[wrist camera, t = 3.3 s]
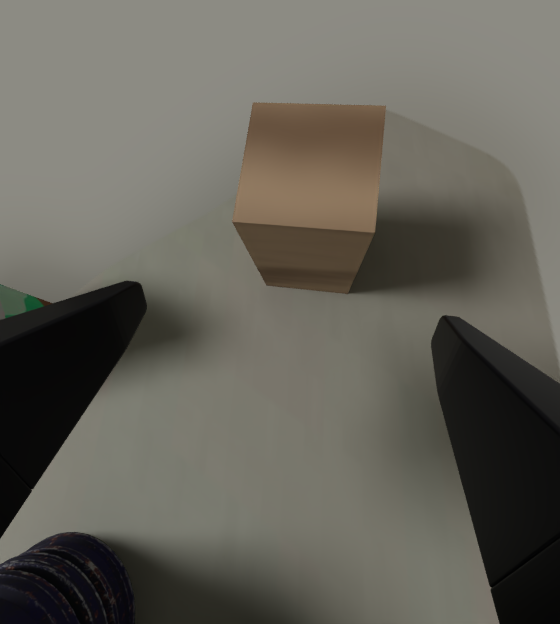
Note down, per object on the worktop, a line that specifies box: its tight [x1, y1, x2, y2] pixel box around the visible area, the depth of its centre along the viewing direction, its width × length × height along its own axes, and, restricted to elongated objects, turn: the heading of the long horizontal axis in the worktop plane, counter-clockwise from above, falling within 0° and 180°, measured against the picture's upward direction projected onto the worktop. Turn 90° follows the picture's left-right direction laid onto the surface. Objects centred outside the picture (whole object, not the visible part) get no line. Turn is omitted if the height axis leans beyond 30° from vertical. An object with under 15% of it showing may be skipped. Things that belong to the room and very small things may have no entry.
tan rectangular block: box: [232, 103, 386, 294], centre depth 18 cm, size 6×6×10 cm
